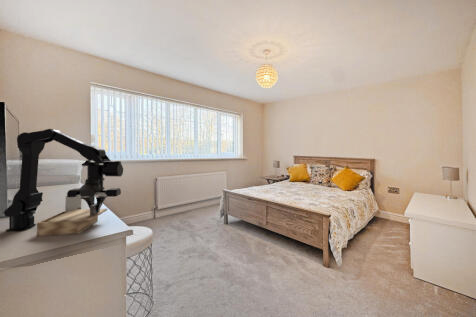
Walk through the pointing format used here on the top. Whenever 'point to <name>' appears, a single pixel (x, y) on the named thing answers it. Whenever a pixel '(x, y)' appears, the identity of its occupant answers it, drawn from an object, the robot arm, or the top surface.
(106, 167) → the robot arm
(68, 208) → the skincare box
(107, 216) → the top surface
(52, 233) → the brown piece
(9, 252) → the top surface
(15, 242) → the top surface
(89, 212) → the lid
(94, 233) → the top surface
